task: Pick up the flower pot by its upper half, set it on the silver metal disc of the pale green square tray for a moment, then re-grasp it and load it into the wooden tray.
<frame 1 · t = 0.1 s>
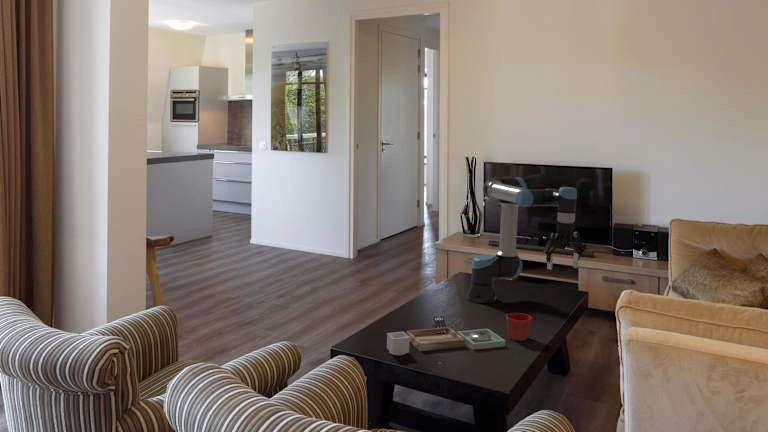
hand: (562, 268, 267), 28 cm above the table, fingers open, 13 cm apart
pale green square tray: (480, 341, 251), on the table
white faceted planter: (397, 352, 237), on the table
flower pot: (517, 338, 257), on the table
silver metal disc: (480, 336, 251), point 2 cm above the table, slide at 0.0 cm
wooden tray: (434, 342, 249), on the table
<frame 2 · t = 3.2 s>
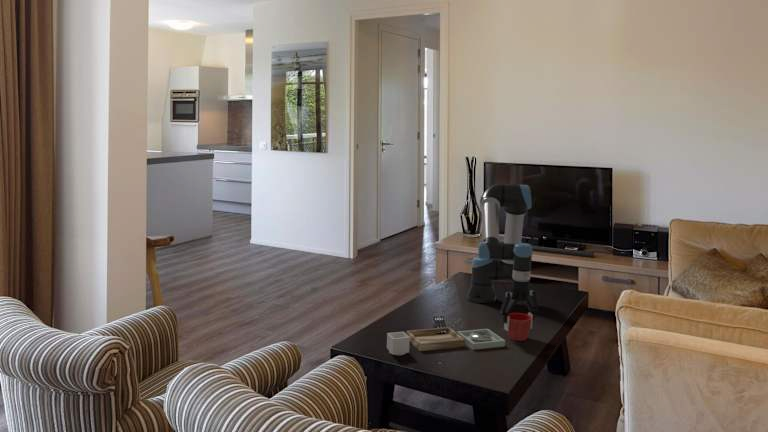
hand: (518, 329, 256), 4 cm above the table, fingers closed on flower pot, 11 cm apart
flower pot: (517, 338, 257), on the table, touching gripper
everything else where it was.
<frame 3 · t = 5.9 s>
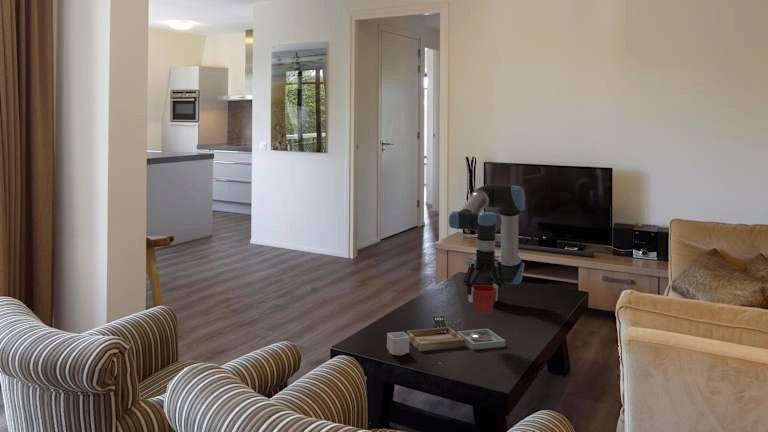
hand: (482, 301, 248), 18 cm above the table, fingers closed on flower pot, 11 cm apart
flower pot: (482, 310, 249), point 14 cm above the table, touching gripper
everything else where it was.
when the fingers open (7 cm above the table, at t = 8.4 s): flower pot drops 1 cm, resting on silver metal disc.
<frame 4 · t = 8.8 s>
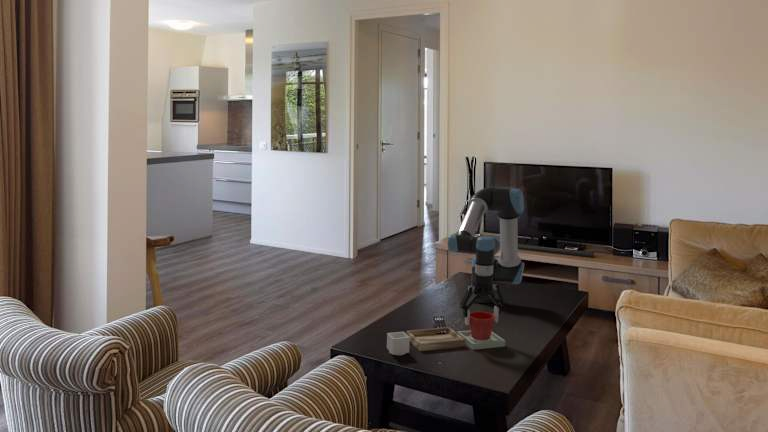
hand: (481, 323, 250), 8 cm above the table, fingers open, 13 cm apart
flower pot: (480, 337, 251), point 2 cm above the table, touching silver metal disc
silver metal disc: (480, 338, 251), point 2 cm above the table, slide at 0.8 cm, touching flower pot
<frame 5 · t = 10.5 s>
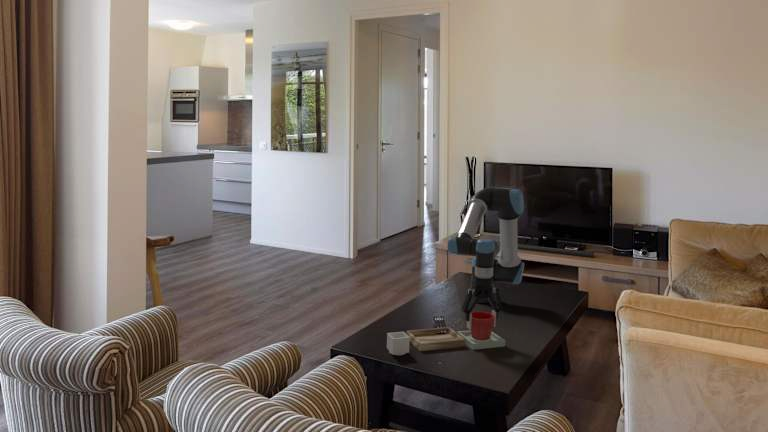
hand: (481, 327, 250), 6 cm above the table, fingers closed on flower pot, 11 cm apart
flower pot: (480, 337, 251), point 2 cm above the table, touching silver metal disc, gripper
everything else where it was.
when the fingers open (6 cm above the table, at t = 15.5 s): flower pot stays where it is, resting on wooden tray.
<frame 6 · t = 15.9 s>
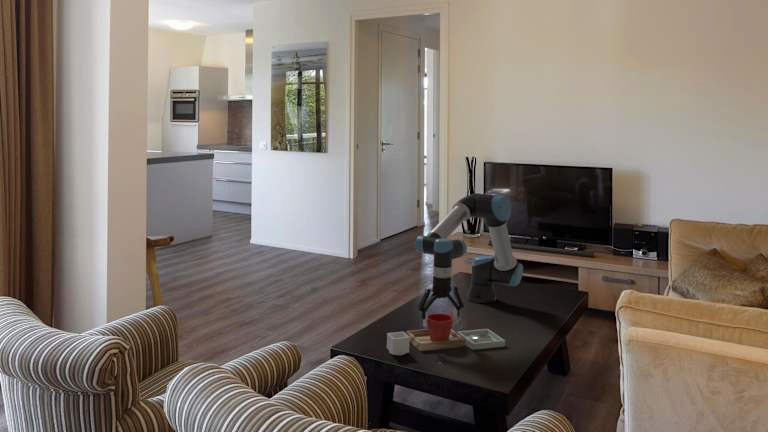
hand: (440, 325, 249), 7 cm above the table, fingers open, 13 cm apart
flower pot: (439, 339, 250), point 1 cm above the table, touching wooden tray
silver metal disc: (480, 338, 251), point 2 cm above the table, slide at 0.8 cm
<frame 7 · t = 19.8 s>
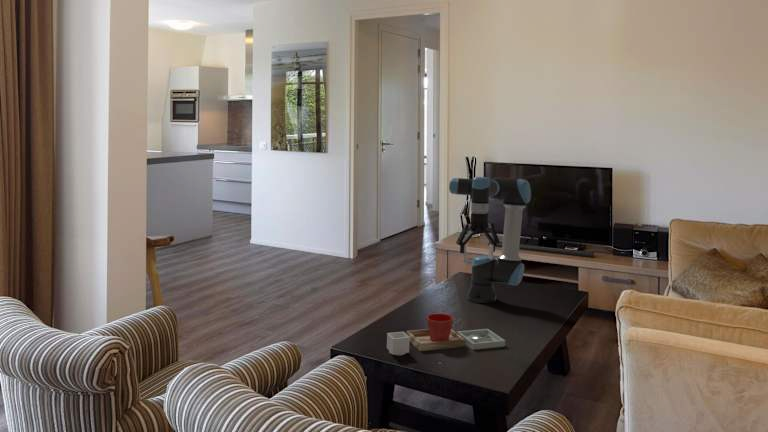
hand: (477, 259, 263), 32 cm above the table, fingers open, 13 cm apart
nothing on the table moved.
at the end: flower pot inside the target area on the wooden tray (1.9 cm from its centre), point 0.8 cm above the wooden tray's base; flower pot tilted 0°; the gripper is holding nothing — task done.
